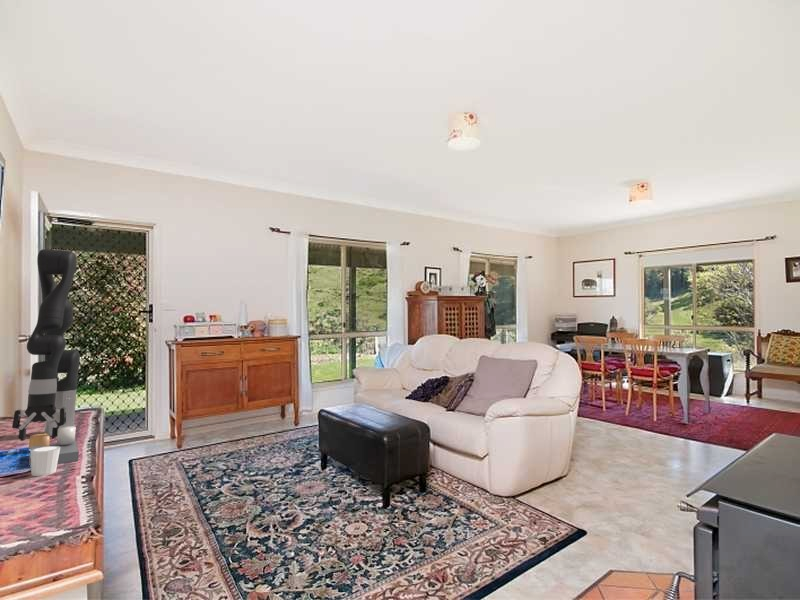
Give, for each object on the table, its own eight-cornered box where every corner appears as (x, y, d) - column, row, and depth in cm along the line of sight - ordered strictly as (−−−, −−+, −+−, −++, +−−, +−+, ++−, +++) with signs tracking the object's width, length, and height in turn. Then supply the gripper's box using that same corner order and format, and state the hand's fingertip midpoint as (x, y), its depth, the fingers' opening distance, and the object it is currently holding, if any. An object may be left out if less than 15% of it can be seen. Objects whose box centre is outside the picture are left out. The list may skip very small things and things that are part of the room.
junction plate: (30, 455, 141) (32, 429, 142) (75, 449, 149) (77, 424, 150) (28, 467, 129) (31, 439, 130) (78, 460, 137) (80, 433, 137)
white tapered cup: (64, 470, 127) (66, 447, 128) (38, 478, 121) (40, 453, 122) (48, 467, 130) (50, 444, 130) (22, 474, 123) (24, 450, 124)
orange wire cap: (32, 448, 149) (33, 434, 149) (49, 447, 151) (50, 433, 151) (26, 452, 145) (28, 437, 145) (44, 451, 147) (45, 436, 147)
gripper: (70, 389, 155) (66, 435, 154) (20, 391, 149) (16, 438, 148) (64, 392, 149) (60, 439, 147) (12, 394, 143) (7, 443, 141)
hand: (38, 439), depth 147 cm, fingers open, 8 cm apart
